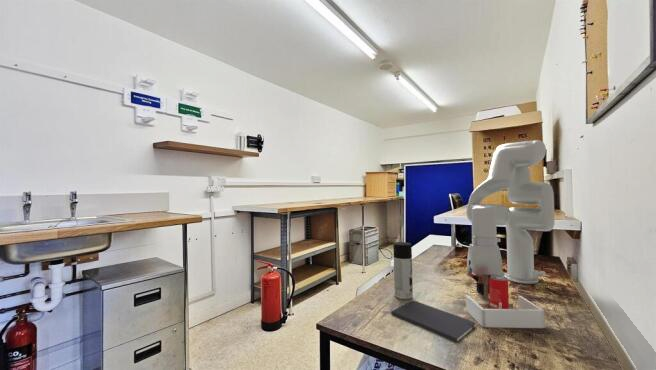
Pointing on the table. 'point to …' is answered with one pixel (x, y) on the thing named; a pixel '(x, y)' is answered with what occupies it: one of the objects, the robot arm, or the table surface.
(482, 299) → the wooden block structure
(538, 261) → the table surface
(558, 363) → the table surface
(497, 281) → the beverage can
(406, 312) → the notebook
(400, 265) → the spray can
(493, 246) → the robot arm
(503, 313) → the box
